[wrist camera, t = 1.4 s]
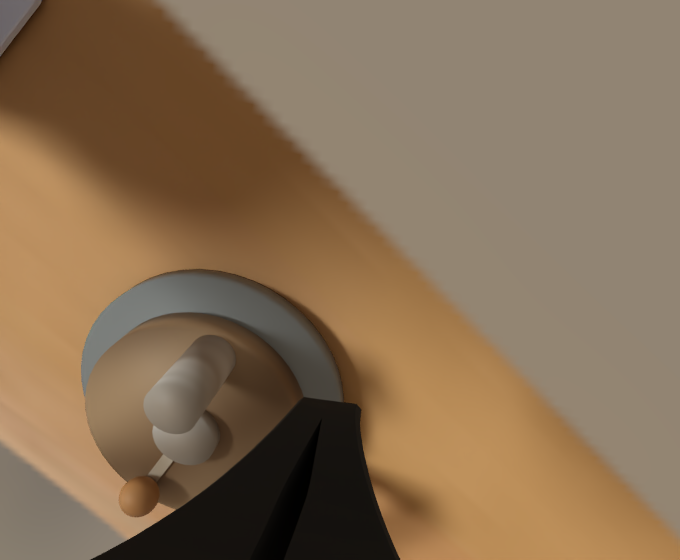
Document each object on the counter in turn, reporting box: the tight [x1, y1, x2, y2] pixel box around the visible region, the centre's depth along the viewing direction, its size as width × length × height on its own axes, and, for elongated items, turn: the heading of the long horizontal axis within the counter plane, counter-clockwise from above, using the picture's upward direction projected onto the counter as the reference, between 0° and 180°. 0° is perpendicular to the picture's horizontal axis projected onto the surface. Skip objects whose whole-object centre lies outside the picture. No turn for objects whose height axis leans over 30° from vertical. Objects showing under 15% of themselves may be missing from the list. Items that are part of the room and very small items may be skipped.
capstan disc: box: [85, 312, 303, 517], centre depth 19 cm, size 9×9×5 cm
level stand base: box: [81, 269, 344, 402], centre depth 20 cm, size 12×12×6 cm
